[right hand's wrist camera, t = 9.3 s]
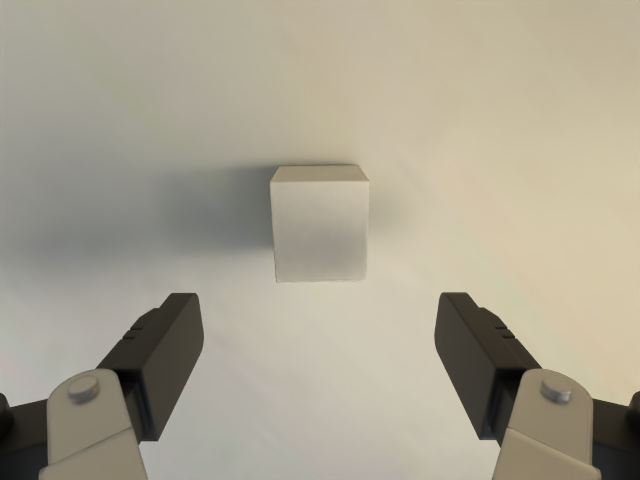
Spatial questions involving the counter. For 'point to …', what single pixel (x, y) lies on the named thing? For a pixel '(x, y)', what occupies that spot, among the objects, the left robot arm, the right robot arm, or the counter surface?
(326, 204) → the block
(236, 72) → the counter surface
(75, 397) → the right robot arm
